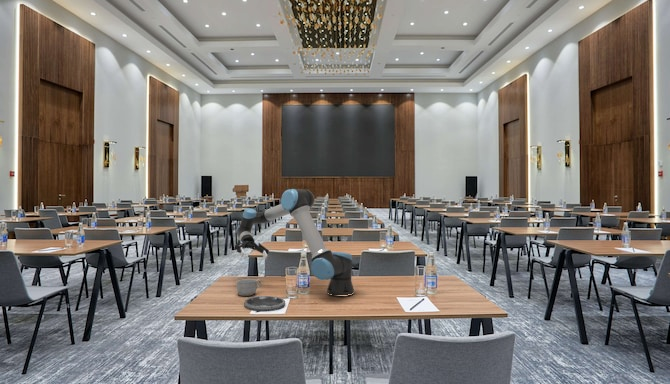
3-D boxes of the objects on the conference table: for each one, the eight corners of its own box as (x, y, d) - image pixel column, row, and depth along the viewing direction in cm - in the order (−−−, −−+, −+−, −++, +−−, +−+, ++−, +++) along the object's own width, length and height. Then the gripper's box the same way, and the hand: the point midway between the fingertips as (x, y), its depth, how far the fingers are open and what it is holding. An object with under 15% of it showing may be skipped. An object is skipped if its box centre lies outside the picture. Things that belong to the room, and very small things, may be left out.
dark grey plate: (291, 302, 212) (291, 298, 212) (274, 313, 193) (274, 309, 193) (256, 298, 218) (256, 294, 218) (236, 308, 199) (236, 304, 199)
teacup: (239, 298, 217) (239, 283, 217) (233, 293, 226) (234, 278, 226) (264, 295, 223) (265, 280, 223) (258, 291, 233) (259, 276, 233)
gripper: (264, 248, 255) (273, 264, 237) (224, 242, 244) (230, 259, 226) (268, 237, 254) (277, 253, 235) (228, 231, 242) (234, 247, 224)
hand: (254, 256), depth 230 cm, fingers open, 13 cm apart
